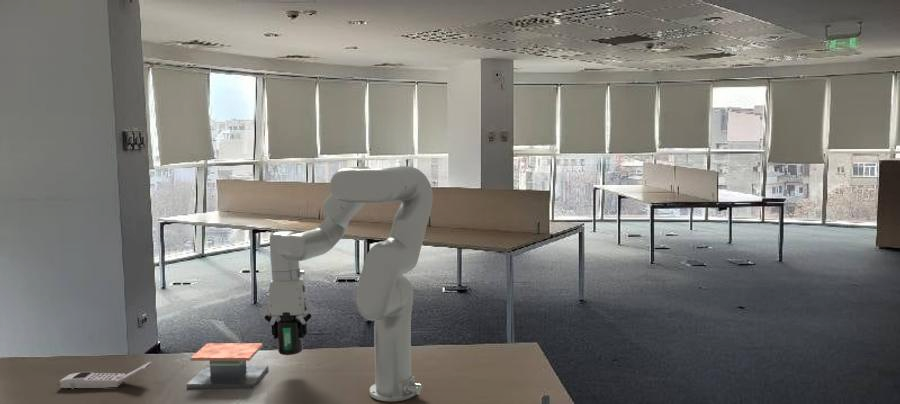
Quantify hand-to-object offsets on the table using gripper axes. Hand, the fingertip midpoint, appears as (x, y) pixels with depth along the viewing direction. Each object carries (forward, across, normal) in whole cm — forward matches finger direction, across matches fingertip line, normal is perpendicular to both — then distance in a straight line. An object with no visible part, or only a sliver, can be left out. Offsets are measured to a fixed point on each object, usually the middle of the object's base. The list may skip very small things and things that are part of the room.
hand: (289, 336), depth 191 cm
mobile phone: (+10, +50, +9) cm, 51 cm away
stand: (+10, +17, +4) cm, 20 cm away
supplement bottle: (+5, 0, 0) cm, 5 cm away
